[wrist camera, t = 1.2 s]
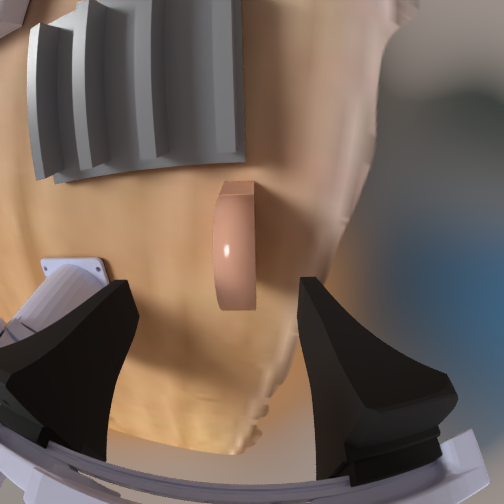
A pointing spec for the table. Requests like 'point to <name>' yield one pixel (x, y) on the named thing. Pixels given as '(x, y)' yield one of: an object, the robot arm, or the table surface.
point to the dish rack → (136, 87)
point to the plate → (235, 247)
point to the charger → (12, 15)
